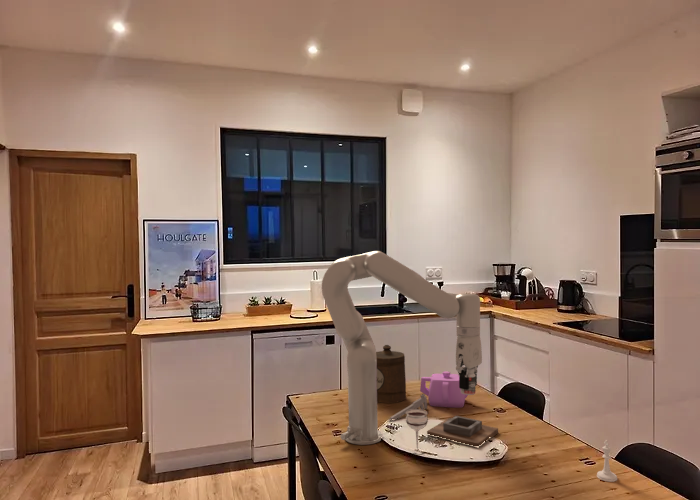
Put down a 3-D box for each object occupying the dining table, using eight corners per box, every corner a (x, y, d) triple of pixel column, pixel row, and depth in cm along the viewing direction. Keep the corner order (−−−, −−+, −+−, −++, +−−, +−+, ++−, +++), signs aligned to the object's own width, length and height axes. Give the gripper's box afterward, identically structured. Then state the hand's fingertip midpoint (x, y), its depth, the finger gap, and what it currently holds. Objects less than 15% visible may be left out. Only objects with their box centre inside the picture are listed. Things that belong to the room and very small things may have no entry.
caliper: (425, 409, 196) (424, 392, 196) (427, 409, 195) (426, 393, 195) (387, 421, 182) (387, 404, 182) (390, 422, 181) (389, 405, 181)
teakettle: (417, 401, 205) (416, 370, 205) (448, 393, 214) (447, 364, 214) (446, 412, 191) (445, 380, 190) (478, 404, 200) (477, 373, 200)
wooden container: (366, 394, 216) (365, 342, 216) (400, 391, 219) (399, 340, 218) (374, 404, 201) (373, 349, 201) (410, 401, 204) (409, 347, 204)
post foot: (478, 448, 157) (477, 435, 156) (427, 435, 168) (426, 423, 168) (498, 432, 169) (498, 420, 169) (449, 421, 180) (449, 410, 180)
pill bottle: (464, 395, 162) (464, 369, 162) (458, 391, 167) (458, 366, 167) (478, 394, 164) (478, 369, 163) (471, 390, 168) (471, 365, 168)
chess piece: (610, 473, 138) (610, 436, 138) (621, 481, 133) (620, 443, 133) (593, 473, 138) (592, 437, 138) (602, 482, 133) (602, 444, 133)
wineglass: (431, 449, 156) (431, 411, 156) (423, 457, 150) (422, 417, 150) (411, 445, 160) (410, 407, 160) (402, 453, 154) (401, 414, 154)
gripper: (466, 336, 156) (466, 395, 156) (490, 329, 169) (489, 383, 169) (445, 333, 161) (445, 390, 161) (469, 327, 174) (469, 379, 174)
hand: (468, 386), depth 165 cm, fingers closed on pill bottle, 4 cm apart
